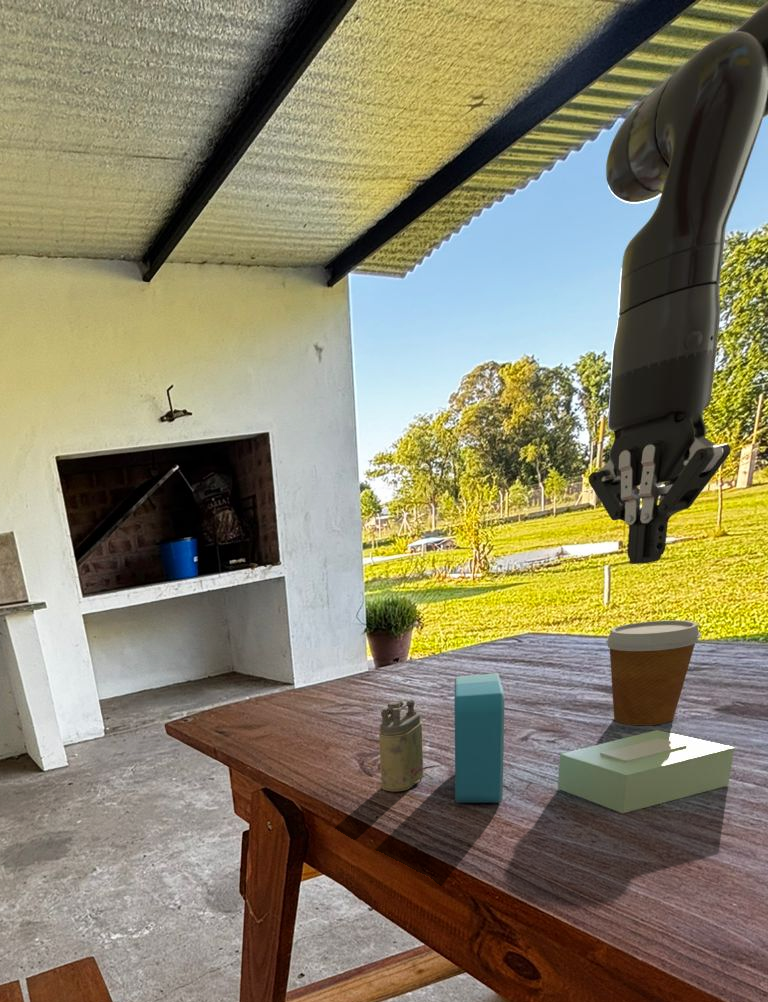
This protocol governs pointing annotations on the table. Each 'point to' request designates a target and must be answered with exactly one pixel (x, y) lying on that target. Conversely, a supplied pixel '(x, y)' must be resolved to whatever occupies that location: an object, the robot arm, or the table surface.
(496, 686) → the data package
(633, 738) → the tissue box
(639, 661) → the disposable coffee cup
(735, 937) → the table surface
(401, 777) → the lighter
